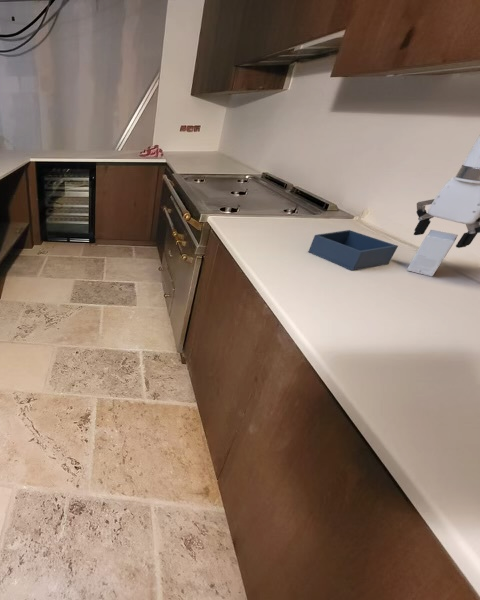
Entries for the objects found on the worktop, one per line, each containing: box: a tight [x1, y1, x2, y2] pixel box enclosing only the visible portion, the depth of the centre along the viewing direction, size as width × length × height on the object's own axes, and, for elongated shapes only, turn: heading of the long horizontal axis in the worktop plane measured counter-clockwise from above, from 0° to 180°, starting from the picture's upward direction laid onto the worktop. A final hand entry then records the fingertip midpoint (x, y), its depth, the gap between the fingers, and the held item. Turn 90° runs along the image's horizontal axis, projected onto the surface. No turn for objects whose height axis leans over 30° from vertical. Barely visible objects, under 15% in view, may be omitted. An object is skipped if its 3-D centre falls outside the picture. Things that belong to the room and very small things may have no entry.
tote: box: [307, 229, 399, 272], centre depth 99 cm, size 15×15×6 cm
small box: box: [406, 229, 459, 277], centre depth 90 cm, size 8×6×10 cm
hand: (438, 240), depth 88 cm, fingers open, 9 cm apart
